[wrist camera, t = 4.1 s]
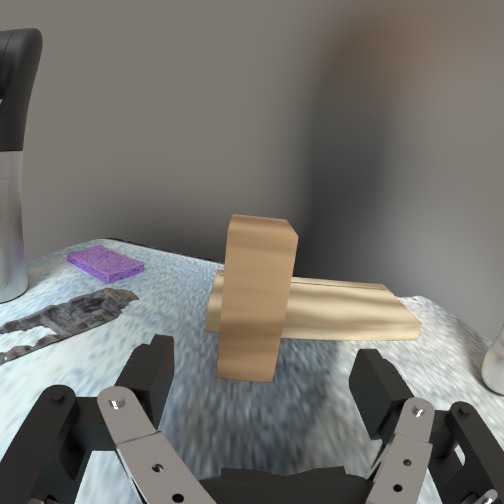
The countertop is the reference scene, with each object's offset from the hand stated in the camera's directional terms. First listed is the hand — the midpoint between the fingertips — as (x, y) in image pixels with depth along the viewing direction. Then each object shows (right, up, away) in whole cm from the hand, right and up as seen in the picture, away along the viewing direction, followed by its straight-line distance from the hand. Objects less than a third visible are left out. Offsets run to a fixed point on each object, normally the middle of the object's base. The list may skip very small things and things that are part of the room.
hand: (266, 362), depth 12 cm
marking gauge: (-1, -3, +19) cm, 19 cm away
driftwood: (-20, -3, +14) cm, 25 cm away
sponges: (-23, +2, +30) cm, 38 cm away
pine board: (+7, -3, +23) cm, 24 cm away
